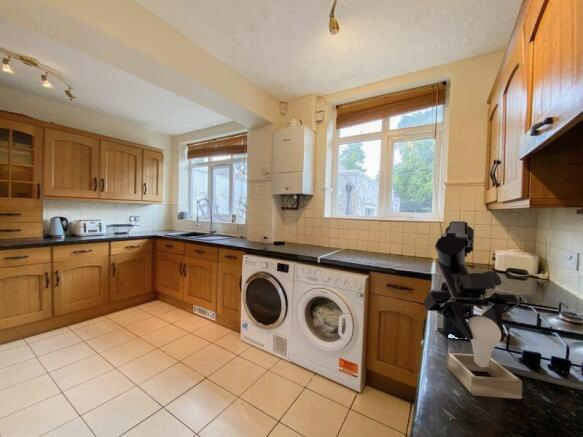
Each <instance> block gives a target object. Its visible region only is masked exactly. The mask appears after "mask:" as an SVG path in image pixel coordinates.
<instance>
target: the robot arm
mask: <svg viewBox="0 0 583 437" xmlns="http://www.w3.org/2000/svg"><path fill="white" fill-rule="evenodd" d="M474 239H475V230H474V229H473V228H472V227H470V226H469V225H468V221H467V222H466V221H462V220H452V221H449V225H447V227H446V228H445V231H444V233H442V234H441V235H440V237H439V238H437V240H436V241H435V242H436V243H435V251H436V253H437V260H438V261H437V265H438V267H439V269H440V272H441V274H442V277H443V279H444V281H445V282H443V283H441V286H440V290H437V289H436V290H435V289H433V290H432V289H431V291H430V292H429V293H428V295H427V296H426V297H424V299H423V305H424V308H425V310H426V311H427V312H437V313H436V314H439V315H442V325H441V326H442V327H437V331H438V332H440V333H441V334H442V335H443V336H444V337H446V338H447V337H448V335H449V334H452V335H454V336H455V337H457V338H462V339H465V338H467V339H469V340H468V341H471V340H472V339H473V336H472V333H471V330H470V328H469V326H468V323H467V321H468V320H469V319H470V318H472V317H475V314H474V313H475V311H474V310H475V307H482V309H483V311H484V312H483V313H482V314H481V316H483V317H487V318H489V319H491V320H492V321H493V322H495V323H496V324H497V326H498V327H499V329H500V331H501V339H500V341H499V343H500V342H504V341H505V334H504V332H505V331H504V325H503V314H507V313H509V312H510V311H512V310H514V309H515V308H516V307H518V306H519V305H520V304H521V303H520V301H519V300H518V298H517V297H516V295H515V294H513V293H511V292H493V293H492V294H491V295H489V297H482V296H484V295H485V294H486V293H487V291H486V290H491V289H492V290H495V289H496V287H497V286H501V285H502V280H501V277H500V276H499V274H498V273H497V271H496V270H495V271H494V270H487V271H485V272H483V273H482V272H469V270H468V268H467V267H466V264H465V263H466V262H465V261H466V257H468V254H471V252H474Z"/></svg>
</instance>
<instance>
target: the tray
mask: <svg viewBox="0 0 583 437" xmlns="http://www.w3.org/2000/svg"><path fill="white" fill-rule="evenodd" d="M446 356H447V357H446V358H447V359H446V368H447V369H448V371H450V372H451V373H452V375H453V376H454V377H455V378H456V379H457V380H458V381H459V382H460V383H461V384H462V385H463V386H464V387H465V388H466V389H467V391H469V393H470V394H472V396H475V397H488V398H489V397H490V398H502V399H504V398H505V399H515V400H516V399H518V400H521V399H522V398H523V381H522V380H521V379H520V378H519V377H518V376H516V375H514V373H512V372H510V371H509V370H508V369H507V368H506V367H504V366H503V365H501V364H500V363H499V362H497V361H496V360H495V359H493V358H492V357H491V358H489V366H488V367H484V368H482V367H479V366H478V365H477V364H476V363H475V362H474V353H473V354H472V353H457V352H447V354H446ZM471 371H472V372H471ZM473 371H474V372H486V373H487V374H489V376H476V375H475V374H473Z"/></svg>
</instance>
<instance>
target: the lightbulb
mask: <svg viewBox="0 0 583 437" xmlns="http://www.w3.org/2000/svg"><path fill="white" fill-rule="evenodd" d="M466 321H467V323H468V326H469V328H470V330H471V333H472V336H473V339H472V340H470V342H471V343H470V344H471V346H472V352H473V354H474V362H475V363H476V364H477V365H478V366H479V367H482V368H484V367H488V366H489V358H492V353H493V350H494V348H495V347H496V346H497V345H498V344H499V343H500V339H501V331H500V329H499V327H498V326H497V324H496V323H495V322H493V321H492V320H491V319H489V318H487V317H483V316H482V315H474V317H472V318H470V319H469V320H466Z"/></svg>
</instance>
